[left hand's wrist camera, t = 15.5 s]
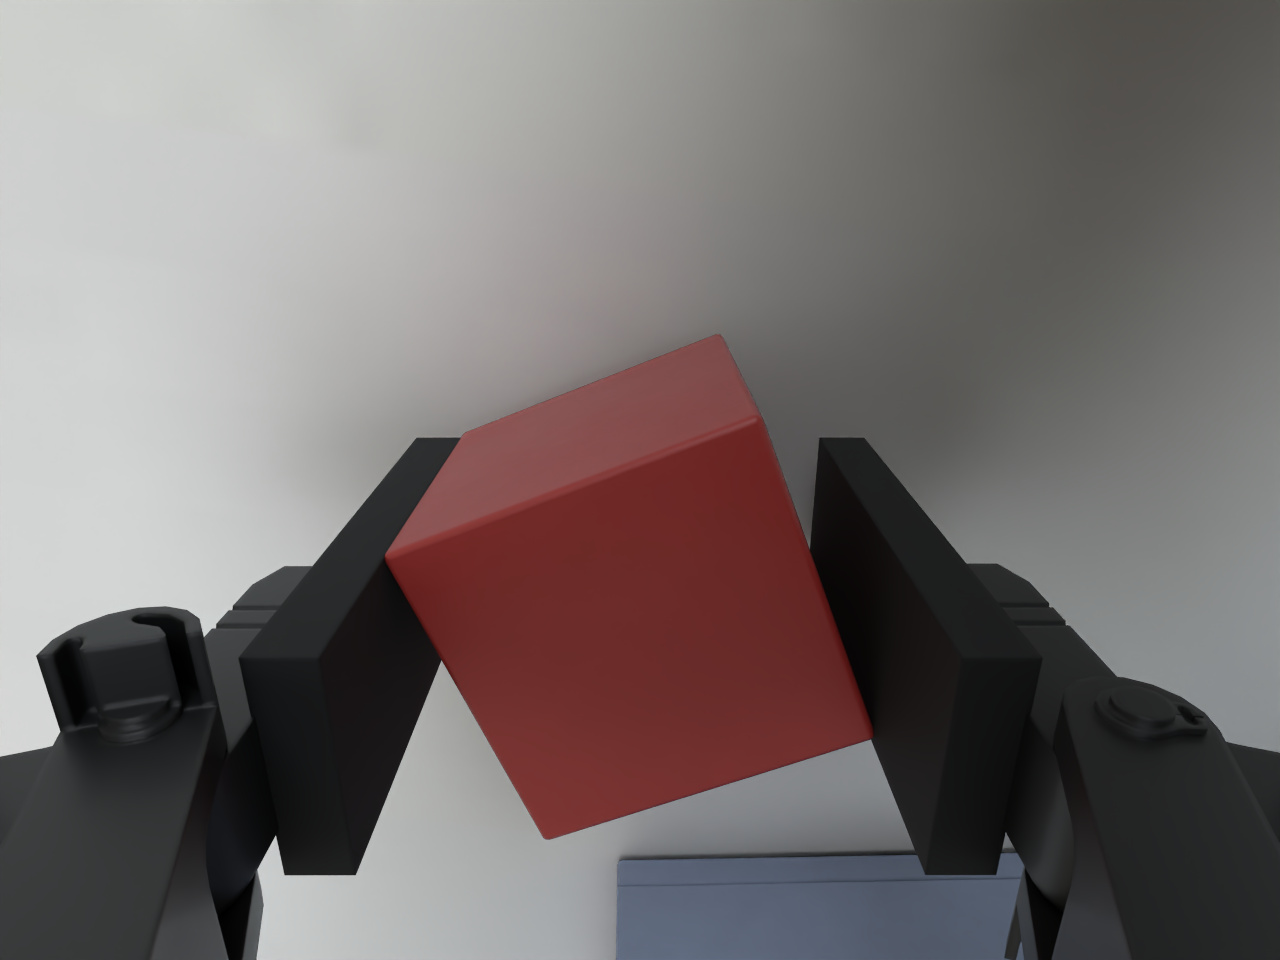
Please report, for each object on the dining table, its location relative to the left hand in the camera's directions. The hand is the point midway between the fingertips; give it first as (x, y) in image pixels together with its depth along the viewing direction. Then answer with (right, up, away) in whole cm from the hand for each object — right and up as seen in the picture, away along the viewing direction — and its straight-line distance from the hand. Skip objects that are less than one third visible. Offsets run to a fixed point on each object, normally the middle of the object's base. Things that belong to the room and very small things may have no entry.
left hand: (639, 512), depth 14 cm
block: (0, 0, 0) cm, 0 cm away
